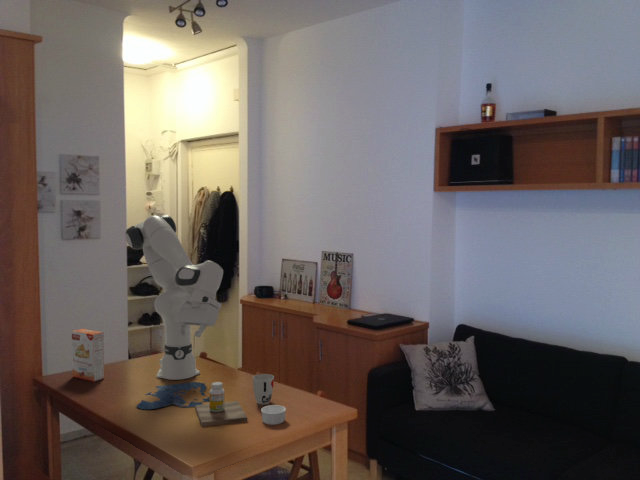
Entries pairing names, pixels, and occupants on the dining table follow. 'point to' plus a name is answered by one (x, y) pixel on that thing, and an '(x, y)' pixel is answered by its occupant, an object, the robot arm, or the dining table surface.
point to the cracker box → (88, 354)
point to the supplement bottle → (217, 397)
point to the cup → (263, 388)
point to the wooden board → (221, 414)
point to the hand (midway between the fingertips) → (189, 335)
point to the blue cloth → (173, 396)
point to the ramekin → (273, 414)
